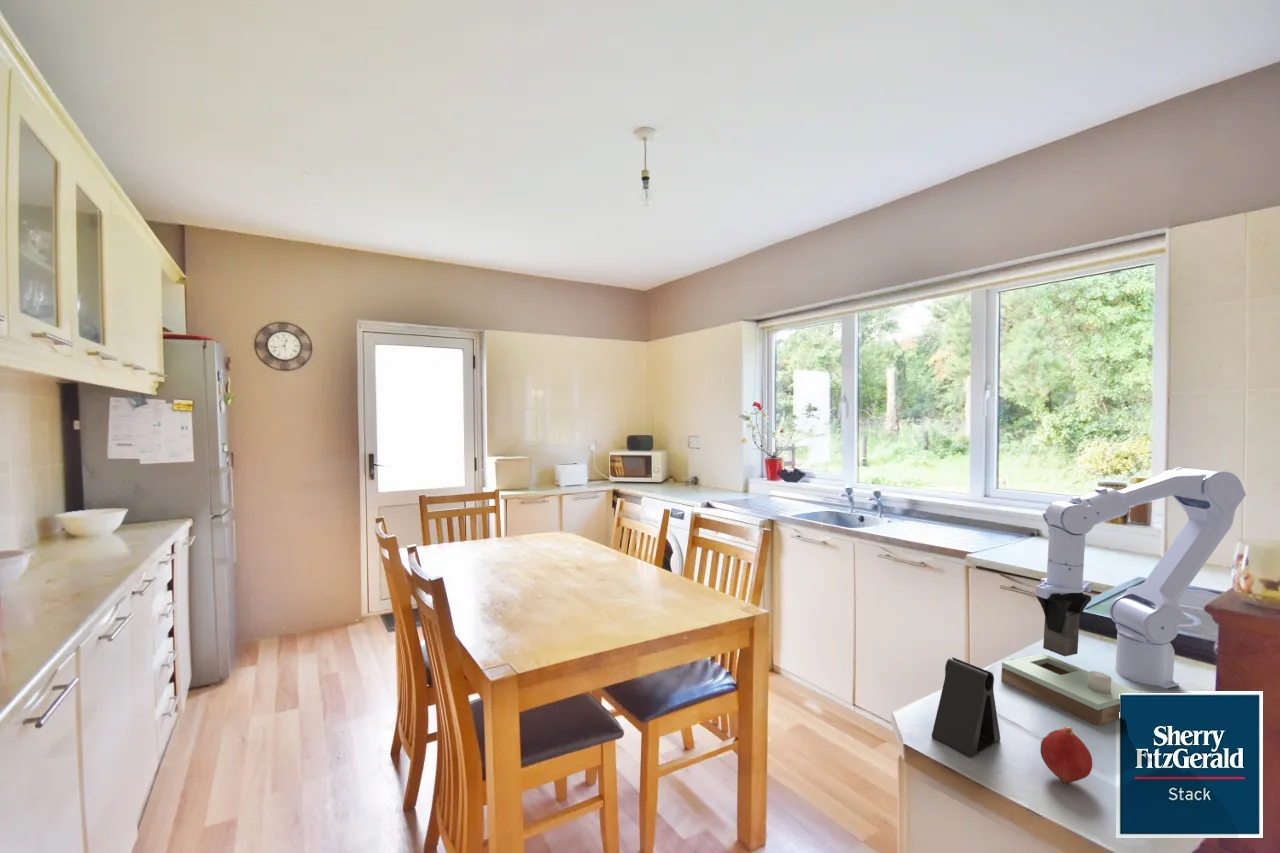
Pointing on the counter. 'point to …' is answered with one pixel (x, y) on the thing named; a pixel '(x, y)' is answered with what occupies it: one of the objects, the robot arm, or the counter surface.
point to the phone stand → (967, 709)
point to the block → (1063, 636)
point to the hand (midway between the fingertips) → (1061, 629)
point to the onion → (1066, 755)
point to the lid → (1070, 681)
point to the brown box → (1061, 697)
